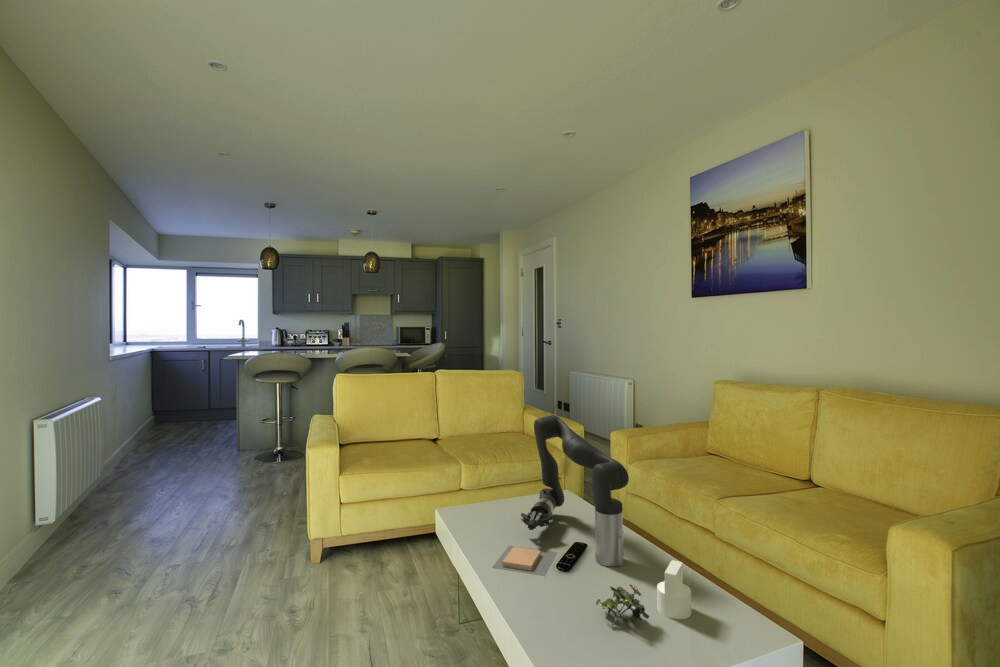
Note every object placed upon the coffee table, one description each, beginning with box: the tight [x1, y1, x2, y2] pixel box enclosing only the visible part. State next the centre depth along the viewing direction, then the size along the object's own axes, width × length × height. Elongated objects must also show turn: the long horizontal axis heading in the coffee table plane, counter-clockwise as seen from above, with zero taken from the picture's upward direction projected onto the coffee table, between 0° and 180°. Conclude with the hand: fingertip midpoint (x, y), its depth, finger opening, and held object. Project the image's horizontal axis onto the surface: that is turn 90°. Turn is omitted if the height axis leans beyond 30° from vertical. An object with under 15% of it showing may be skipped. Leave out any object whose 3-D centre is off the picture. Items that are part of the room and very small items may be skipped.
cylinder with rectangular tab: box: [656, 559, 692, 620], centre depth 141 cm, size 9×9×12 cm
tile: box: [502, 546, 541, 571], centre depth 171 cm, size 10×2×12 cm
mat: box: [491, 545, 558, 577], centre depth 172 cm, size 18×18×1 cm
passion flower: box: [595, 584, 650, 626], centre depth 136 cm, size 11×11×12 cm
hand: (530, 527), depth 182 cm, fingers closed
